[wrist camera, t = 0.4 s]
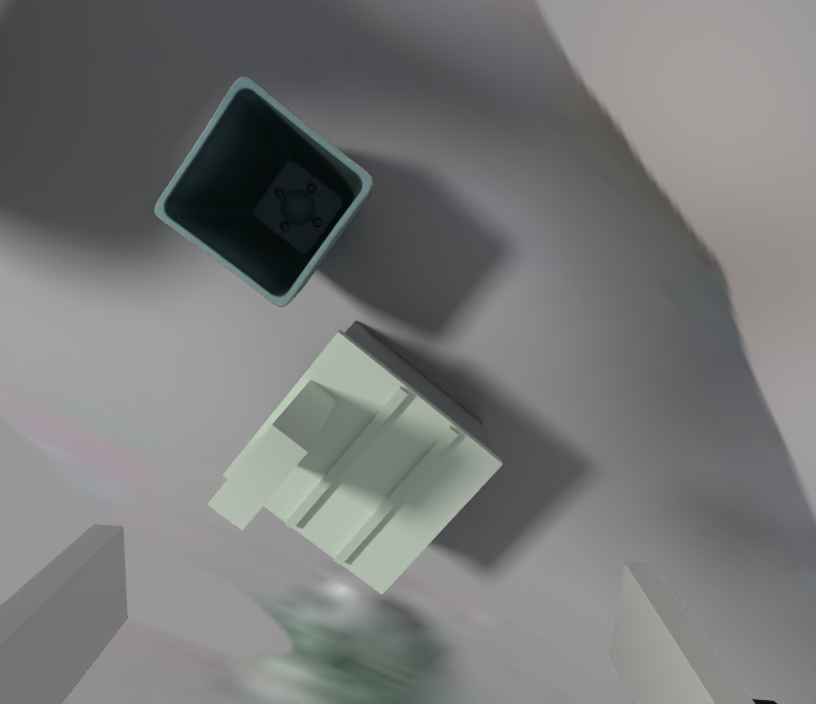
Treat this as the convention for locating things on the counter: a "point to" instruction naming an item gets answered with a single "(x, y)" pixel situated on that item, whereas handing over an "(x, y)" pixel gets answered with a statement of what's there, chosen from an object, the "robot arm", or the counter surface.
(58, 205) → the counter surface
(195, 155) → the flower pot
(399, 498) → the lid
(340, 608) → the counter surface
